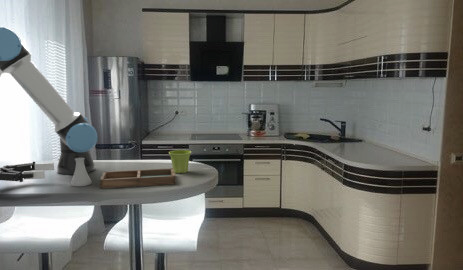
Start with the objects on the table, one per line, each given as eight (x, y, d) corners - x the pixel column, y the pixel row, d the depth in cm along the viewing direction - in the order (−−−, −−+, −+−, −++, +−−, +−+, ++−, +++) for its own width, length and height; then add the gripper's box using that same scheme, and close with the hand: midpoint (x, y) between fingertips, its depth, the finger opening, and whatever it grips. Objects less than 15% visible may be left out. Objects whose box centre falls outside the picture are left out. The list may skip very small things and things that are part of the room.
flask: (84, 187, 137) (82, 160, 136) (66, 186, 139) (64, 159, 137) (95, 182, 144) (94, 157, 143) (78, 181, 146) (76, 156, 144)
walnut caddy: (104, 179, 150) (103, 171, 149) (173, 175, 156) (172, 168, 155) (100, 188, 136) (99, 180, 136) (175, 183, 142) (175, 176, 142)
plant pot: (182, 175, 156) (181, 154, 155) (164, 172, 161) (164, 152, 160) (195, 171, 164) (195, 151, 162) (179, 168, 169) (178, 149, 167)
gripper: (-2, 175, 146) (57, 172, 151) (-31, 193, 122) (40, 189, 127) (-4, 156, 145) (56, 154, 150) (-33, 170, 121) (39, 167, 126)
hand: (49, 170), depth 138 cm, fingers open, 13 cm apart
